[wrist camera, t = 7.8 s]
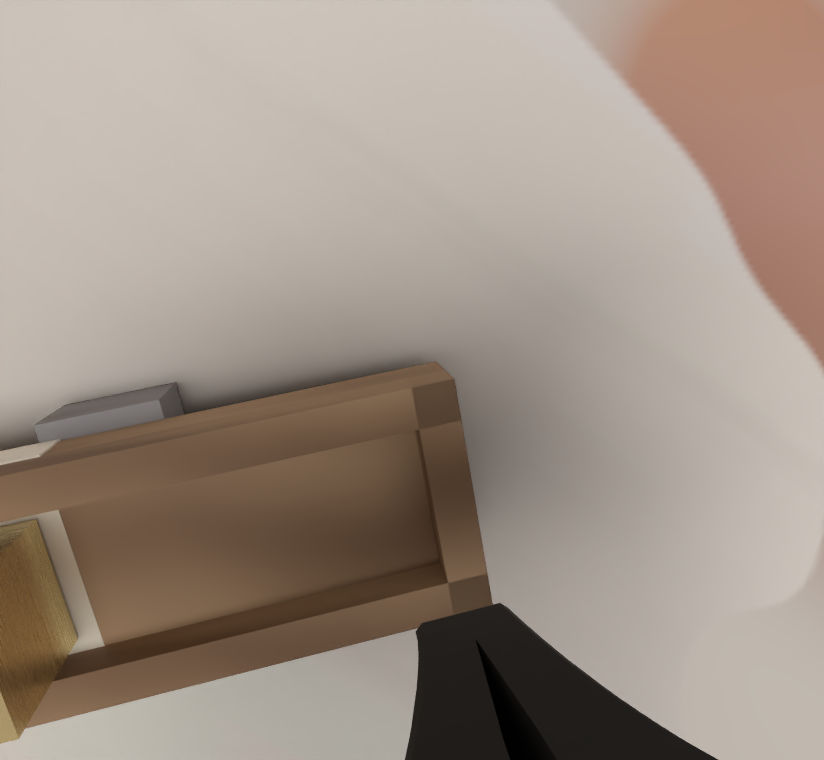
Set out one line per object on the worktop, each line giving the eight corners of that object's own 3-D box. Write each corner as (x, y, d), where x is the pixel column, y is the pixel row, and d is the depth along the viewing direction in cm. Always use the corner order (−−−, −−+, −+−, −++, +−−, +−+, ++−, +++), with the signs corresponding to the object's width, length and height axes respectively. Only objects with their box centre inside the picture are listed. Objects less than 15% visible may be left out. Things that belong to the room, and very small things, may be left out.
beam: (458, 548, 20) (496, 626, 16) (-113, 688, 18) (-235, 815, 14) (420, 332, 18) (450, 357, 14) (-212, 461, 17) (-382, 532, 13)
